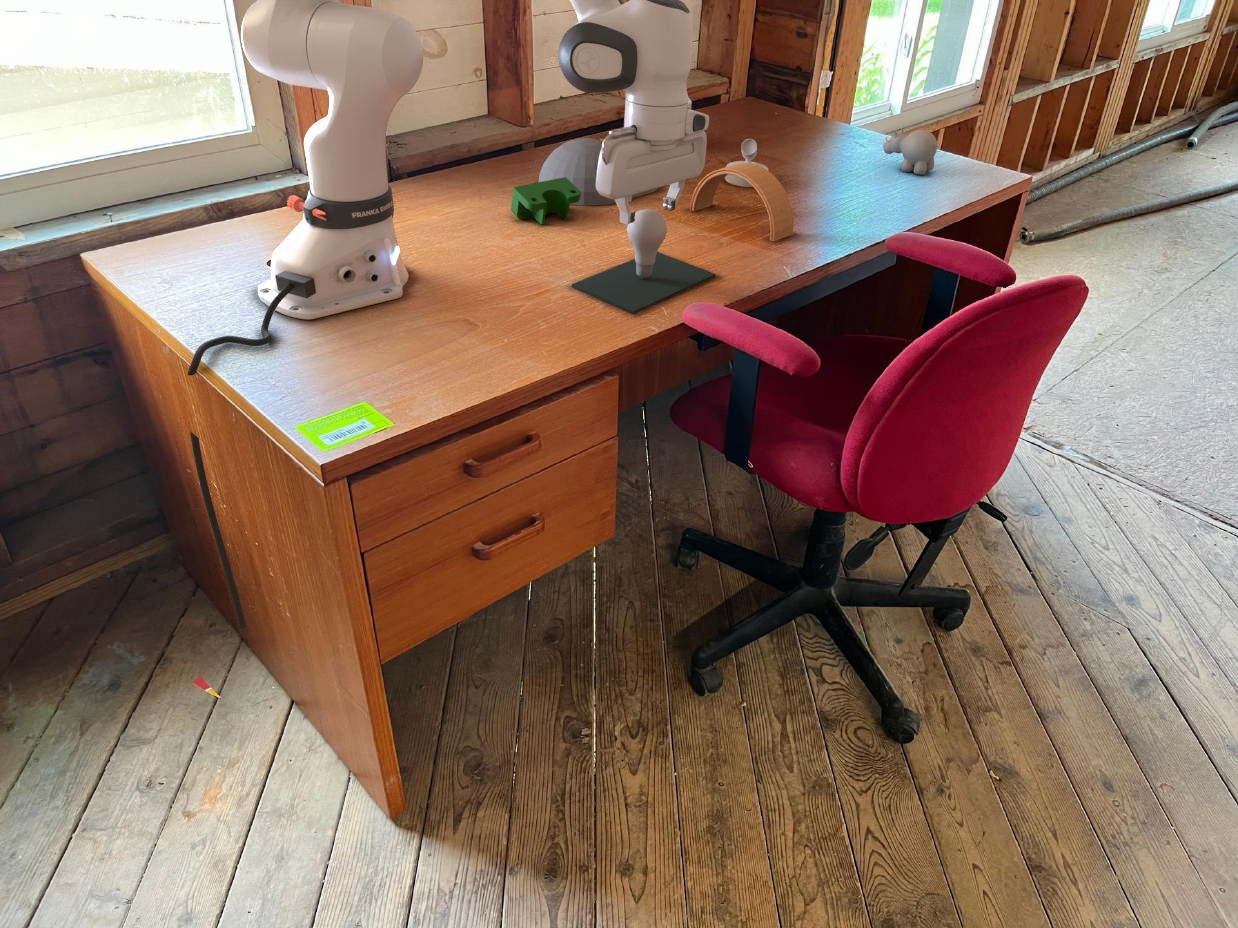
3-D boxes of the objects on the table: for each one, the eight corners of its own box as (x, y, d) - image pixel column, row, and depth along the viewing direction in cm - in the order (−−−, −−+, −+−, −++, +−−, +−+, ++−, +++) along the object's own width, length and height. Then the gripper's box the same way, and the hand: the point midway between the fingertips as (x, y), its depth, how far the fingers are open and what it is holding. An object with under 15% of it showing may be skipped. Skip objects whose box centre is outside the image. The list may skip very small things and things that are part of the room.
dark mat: (633, 314, 138) (633, 311, 138) (571, 287, 145) (571, 284, 145) (715, 276, 151) (715, 274, 151) (654, 253, 158) (654, 250, 157)
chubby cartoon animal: (888, 158, 208) (896, 119, 203) (937, 171, 201) (947, 131, 196) (871, 164, 203) (879, 124, 199) (921, 178, 197) (930, 137, 192)
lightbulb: (654, 269, 151) (659, 202, 145) (668, 283, 146) (674, 215, 140) (619, 272, 149) (622, 205, 143) (632, 287, 145) (636, 218, 139)
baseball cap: (680, 175, 186) (674, 118, 178) (587, 236, 175) (575, 178, 167) (614, 152, 197) (606, 97, 189) (523, 208, 186) (509, 152, 178)
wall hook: (727, 138, 182) (731, 125, 190) (722, 186, 187) (726, 171, 195) (771, 142, 181) (774, 128, 189) (765, 191, 186) (767, 175, 194)
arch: (709, 203, 179) (715, 151, 173) (792, 234, 168) (801, 179, 162) (689, 210, 176) (694, 156, 170) (772, 242, 164) (780, 186, 158)
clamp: (534, 246, 169) (522, 210, 161) (517, 228, 172) (505, 192, 164) (588, 213, 171) (579, 175, 163) (570, 196, 174) (560, 158, 166)
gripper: (620, 137, 124) (615, 237, 132) (717, 115, 137) (707, 208, 145) (587, 127, 128) (584, 225, 135) (684, 107, 140) (676, 197, 148)
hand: (648, 216), depth 140 cm, fingers open, 8 cm apart
